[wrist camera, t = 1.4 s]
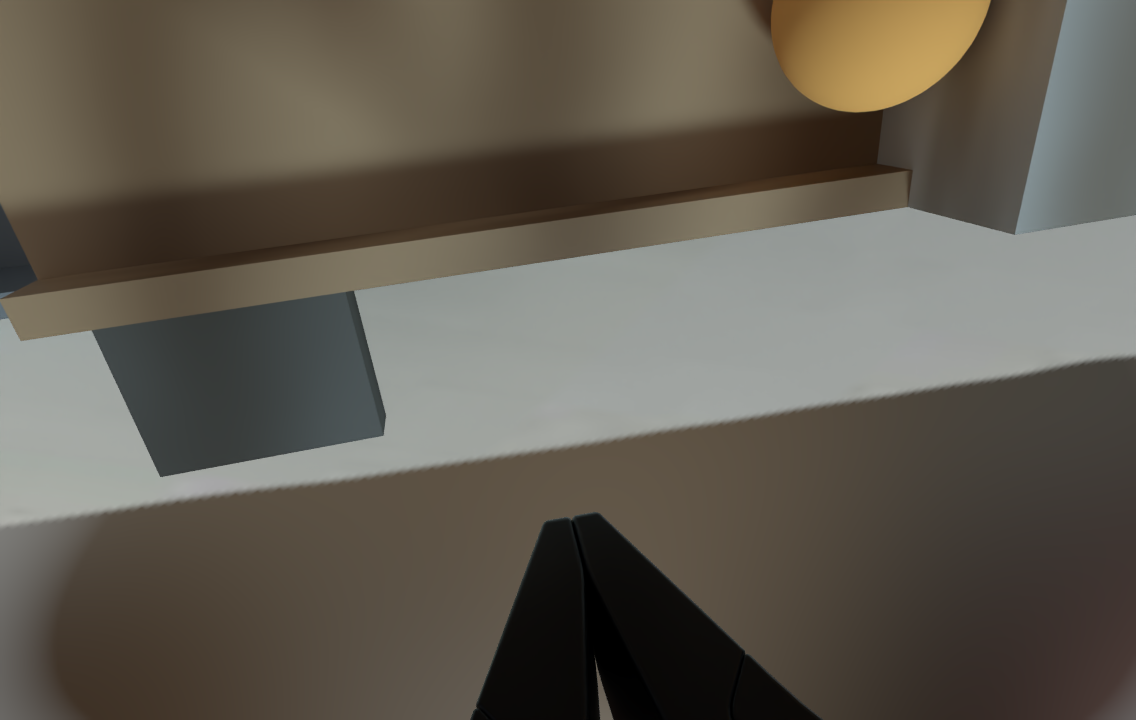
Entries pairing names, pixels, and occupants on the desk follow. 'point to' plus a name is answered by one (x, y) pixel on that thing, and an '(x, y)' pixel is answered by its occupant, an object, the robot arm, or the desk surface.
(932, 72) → the ball
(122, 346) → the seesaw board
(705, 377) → the desk surface
